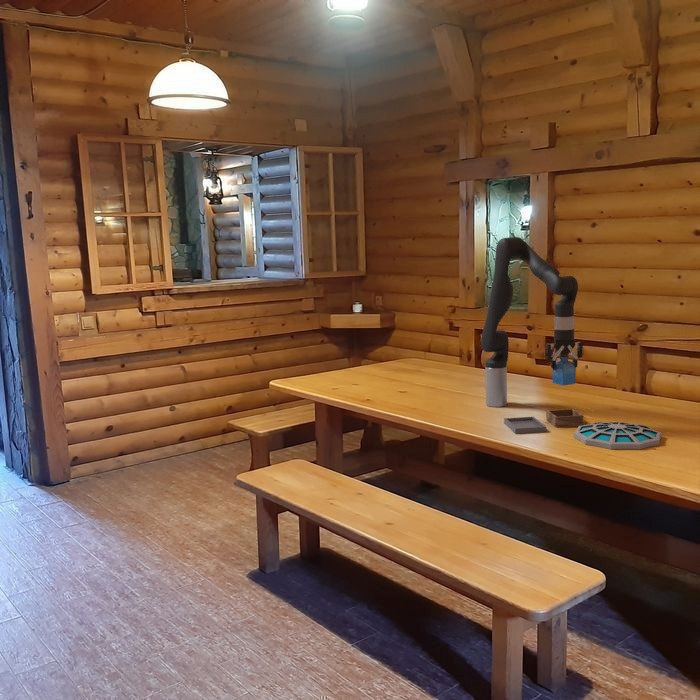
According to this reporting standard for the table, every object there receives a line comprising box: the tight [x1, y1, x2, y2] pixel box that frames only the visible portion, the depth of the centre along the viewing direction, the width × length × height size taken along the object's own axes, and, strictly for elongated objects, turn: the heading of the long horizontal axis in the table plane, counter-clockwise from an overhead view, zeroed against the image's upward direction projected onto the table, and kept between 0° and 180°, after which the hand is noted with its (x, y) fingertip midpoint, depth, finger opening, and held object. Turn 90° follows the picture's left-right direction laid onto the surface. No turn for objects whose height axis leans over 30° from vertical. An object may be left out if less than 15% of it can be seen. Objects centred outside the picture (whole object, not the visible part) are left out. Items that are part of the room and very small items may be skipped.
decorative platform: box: [573, 421, 663, 450], centre depth 265 cm, size 31×29×5 cm
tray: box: [503, 416, 547, 435], centre depth 284 cm, size 16×12×2 cm
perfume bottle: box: [552, 353, 577, 386], centre depth 285 cm, size 6×6×12 cm
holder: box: [545, 408, 585, 428], centre depth 288 cm, size 11×11×4 cm
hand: (564, 369), depth 285 cm, fingers closed on perfume bottle, 7 cm apart
